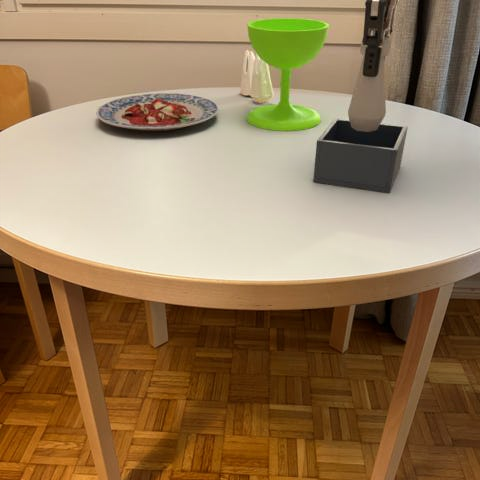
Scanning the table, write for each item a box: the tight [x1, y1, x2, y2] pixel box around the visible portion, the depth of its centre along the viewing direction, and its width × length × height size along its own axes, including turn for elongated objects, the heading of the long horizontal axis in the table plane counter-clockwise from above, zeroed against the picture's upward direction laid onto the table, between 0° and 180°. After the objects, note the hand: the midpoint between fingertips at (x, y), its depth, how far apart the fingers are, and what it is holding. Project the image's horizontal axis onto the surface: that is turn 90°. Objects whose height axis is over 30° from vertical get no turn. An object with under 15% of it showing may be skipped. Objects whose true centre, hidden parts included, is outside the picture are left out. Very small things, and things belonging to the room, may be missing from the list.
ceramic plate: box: [95, 92, 219, 132], centre depth 113 cm, size 26×26×3 cm
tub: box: [312, 118, 409, 194], centre depth 87 cm, size 12×12×7 cm
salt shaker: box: [347, 37, 392, 132], centre depth 81 cm, size 6×6×13 cm
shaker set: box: [239, 49, 275, 104], centre depth 123 cm, size 12×4×11 cm, turn 22°
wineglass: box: [246, 17, 330, 132], centre depth 109 cm, size 16×16×18 cm
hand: (372, 72), depth 80 cm, fingers closed on salt shaker, 4 cm apart
